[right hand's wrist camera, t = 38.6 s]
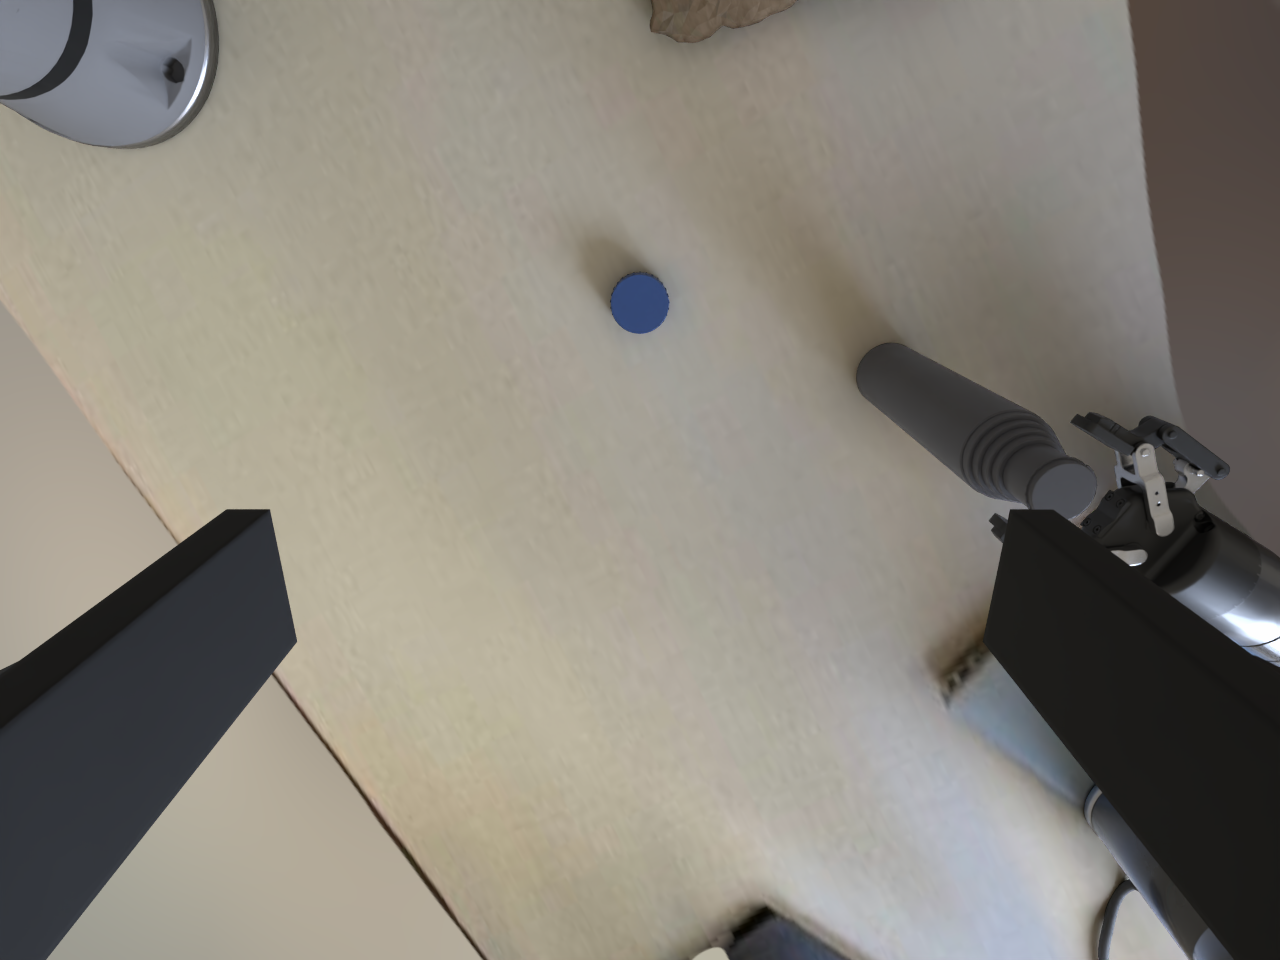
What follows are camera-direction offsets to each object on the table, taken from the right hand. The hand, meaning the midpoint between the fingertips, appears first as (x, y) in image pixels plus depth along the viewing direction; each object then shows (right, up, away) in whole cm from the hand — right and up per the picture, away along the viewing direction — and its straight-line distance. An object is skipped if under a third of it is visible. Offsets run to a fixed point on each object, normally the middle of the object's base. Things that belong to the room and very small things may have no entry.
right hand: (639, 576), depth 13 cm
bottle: (+18, +10, +40) cm, 45 cm away
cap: (0, +14, +37) cm, 39 cm away
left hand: (+28, +2, +36) cm, 45 cm away
